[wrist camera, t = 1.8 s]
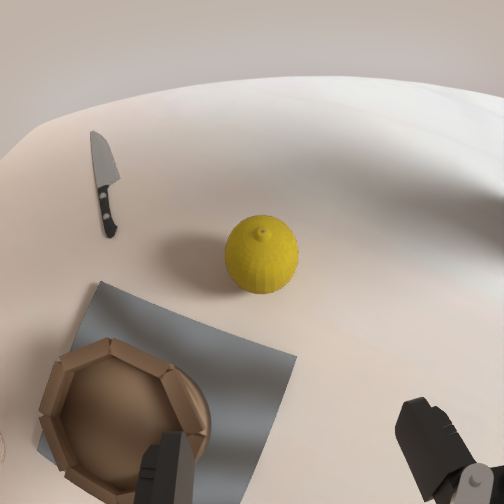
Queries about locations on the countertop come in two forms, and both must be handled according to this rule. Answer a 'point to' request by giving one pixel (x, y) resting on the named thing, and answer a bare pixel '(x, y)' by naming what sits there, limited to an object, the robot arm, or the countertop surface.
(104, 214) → the chef's knife
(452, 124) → the countertop surface
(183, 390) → the pot with square base
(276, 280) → the lemon
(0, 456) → the beer glass
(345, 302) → the countertop surface
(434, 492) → the robot arm
